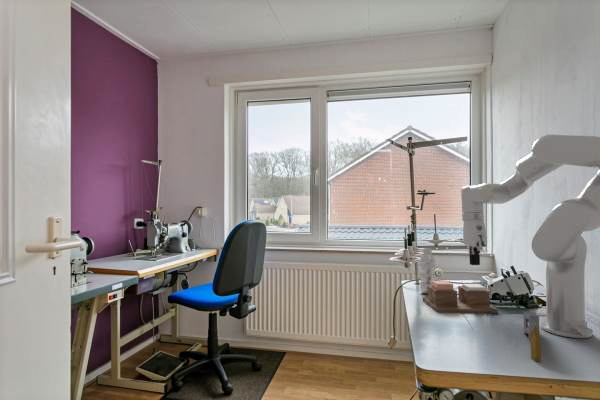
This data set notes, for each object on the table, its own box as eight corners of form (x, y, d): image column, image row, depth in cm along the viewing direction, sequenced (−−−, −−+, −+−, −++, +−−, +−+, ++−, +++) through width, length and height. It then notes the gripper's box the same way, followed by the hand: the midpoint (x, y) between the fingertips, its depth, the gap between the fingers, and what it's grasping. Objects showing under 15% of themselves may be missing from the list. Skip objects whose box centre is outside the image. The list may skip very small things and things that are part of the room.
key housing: (497, 313, 125) (497, 293, 125) (436, 312, 126) (436, 293, 126) (476, 301, 141) (476, 284, 141) (422, 300, 142) (422, 283, 142)
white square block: (485, 300, 130) (485, 287, 130) (469, 300, 130) (469, 287, 130) (477, 296, 136) (477, 283, 136) (462, 296, 136) (462, 283, 136)
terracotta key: (453, 297, 130) (453, 284, 130) (437, 297, 131) (437, 284, 131) (447, 293, 136) (446, 280, 136) (431, 293, 137) (431, 280, 137)
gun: (537, 364, 103) (534, 312, 108) (545, 363, 83) (541, 300, 89) (524, 362, 105) (522, 311, 110) (529, 360, 85) (527, 298, 90)
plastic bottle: (416, 292, 155) (416, 248, 155) (427, 291, 158) (427, 247, 158) (427, 296, 149) (427, 250, 149) (438, 294, 152) (438, 249, 152)
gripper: (492, 217, 126) (495, 267, 125) (473, 217, 141) (475, 262, 140) (472, 217, 126) (474, 267, 125) (455, 217, 141) (456, 262, 140)
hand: (474, 264), depth 133 cm, fingers closed
